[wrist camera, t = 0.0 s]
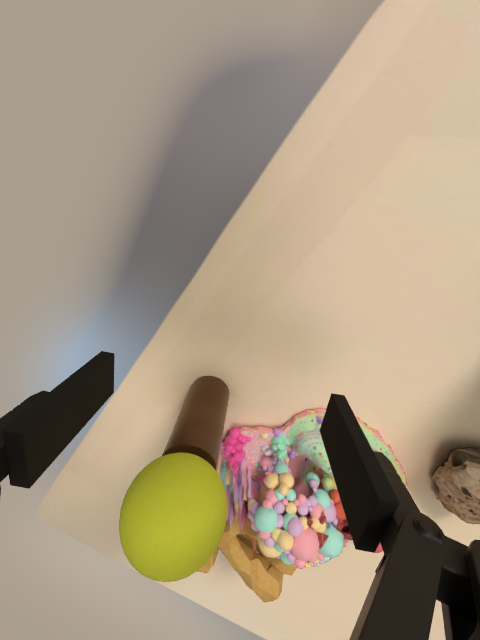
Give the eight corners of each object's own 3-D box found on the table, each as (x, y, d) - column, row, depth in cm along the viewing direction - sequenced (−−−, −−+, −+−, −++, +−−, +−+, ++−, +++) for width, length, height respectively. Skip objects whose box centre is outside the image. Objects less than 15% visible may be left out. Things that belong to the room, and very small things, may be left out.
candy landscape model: (291, 573, 39) (300, 671, 31) (160, 488, 36) (128, 572, 27) (437, 480, 32) (503, 572, 24) (293, 361, 29) (309, 419, 20)
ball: (147, 423, 20) (95, 516, 14) (238, 440, 20) (229, 541, 13) (143, 490, 22) (96, 598, 16) (224, 505, 22) (211, 619, 16)
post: (192, 372, 30) (162, 439, 20) (232, 379, 30) (220, 450, 20) (188, 405, 31) (158, 482, 22) (226, 412, 31) (212, 492, 22)
